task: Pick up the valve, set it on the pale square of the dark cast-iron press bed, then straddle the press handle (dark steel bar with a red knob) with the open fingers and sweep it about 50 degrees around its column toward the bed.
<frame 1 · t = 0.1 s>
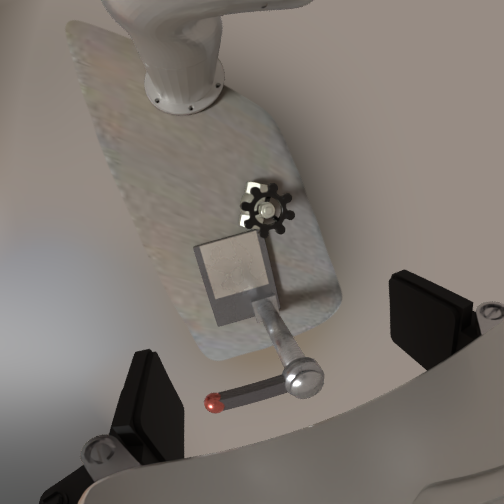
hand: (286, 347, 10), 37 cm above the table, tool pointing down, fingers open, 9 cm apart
lever: (263, 390, 29), point 21 cm above the table, hinge at 0.0°
press: (237, 275, 48), on the table
valve: (251, 204, 46), on the table
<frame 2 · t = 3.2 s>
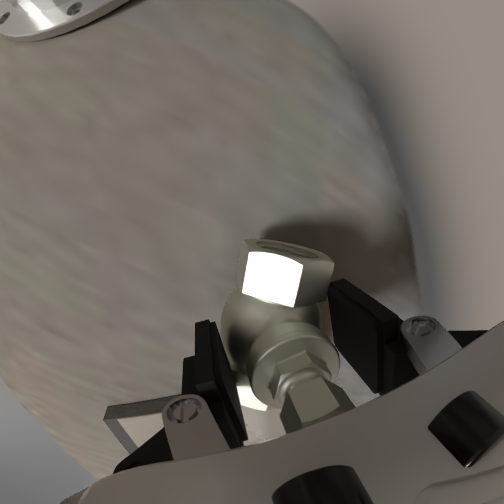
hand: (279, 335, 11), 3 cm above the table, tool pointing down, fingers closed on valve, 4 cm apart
press: (226, 455, 16), on the table
valve: (260, 304, 14), on the table, touching gripper
when the fingers open (6 cm above the table, at t = 9.2 s): valve stays where it is, resting on press.
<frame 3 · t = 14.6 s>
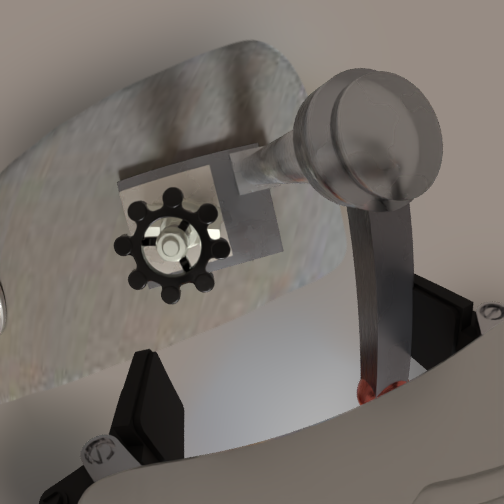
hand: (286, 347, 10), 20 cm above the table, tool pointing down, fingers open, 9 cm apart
lever: (384, 274, 9), point 21 cm above the table, hinge at 1.5°, touching gripper
press: (195, 216, 28), on the table
valve: (183, 221, 27), point 1 cm above the table, touching press
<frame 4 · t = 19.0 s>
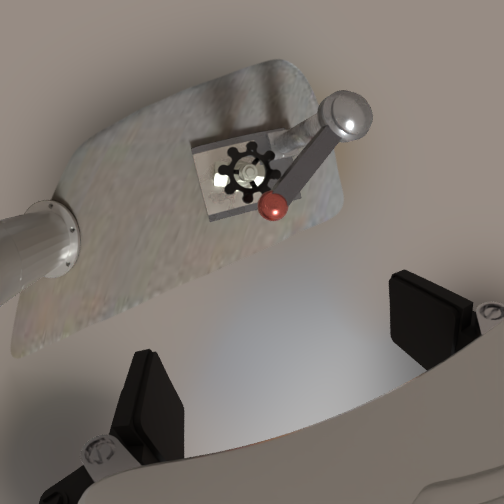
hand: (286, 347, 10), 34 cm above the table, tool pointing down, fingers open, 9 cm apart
lever: (314, 153, 22), point 21 cm above the table, hinge at 52.5°
press: (243, 173, 42), on the table
valve: (236, 176, 41), point 1 cm above the table, touching press
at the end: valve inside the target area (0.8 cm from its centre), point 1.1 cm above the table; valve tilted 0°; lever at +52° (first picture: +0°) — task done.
